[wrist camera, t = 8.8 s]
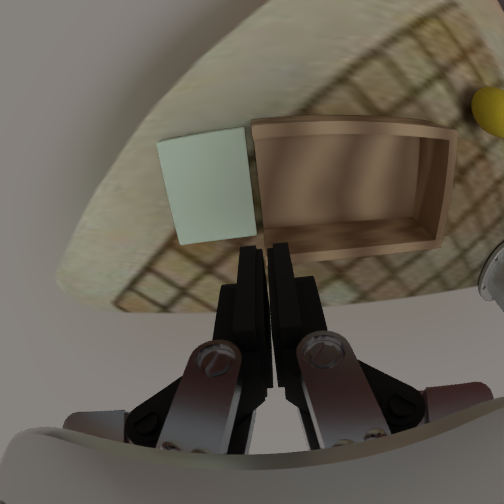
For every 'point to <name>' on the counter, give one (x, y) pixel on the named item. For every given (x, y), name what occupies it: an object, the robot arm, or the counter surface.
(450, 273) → the counter surface
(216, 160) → the panel
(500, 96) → the lemon
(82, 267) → the counter surface
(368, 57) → the counter surface
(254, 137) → the crate
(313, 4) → the counter surface
